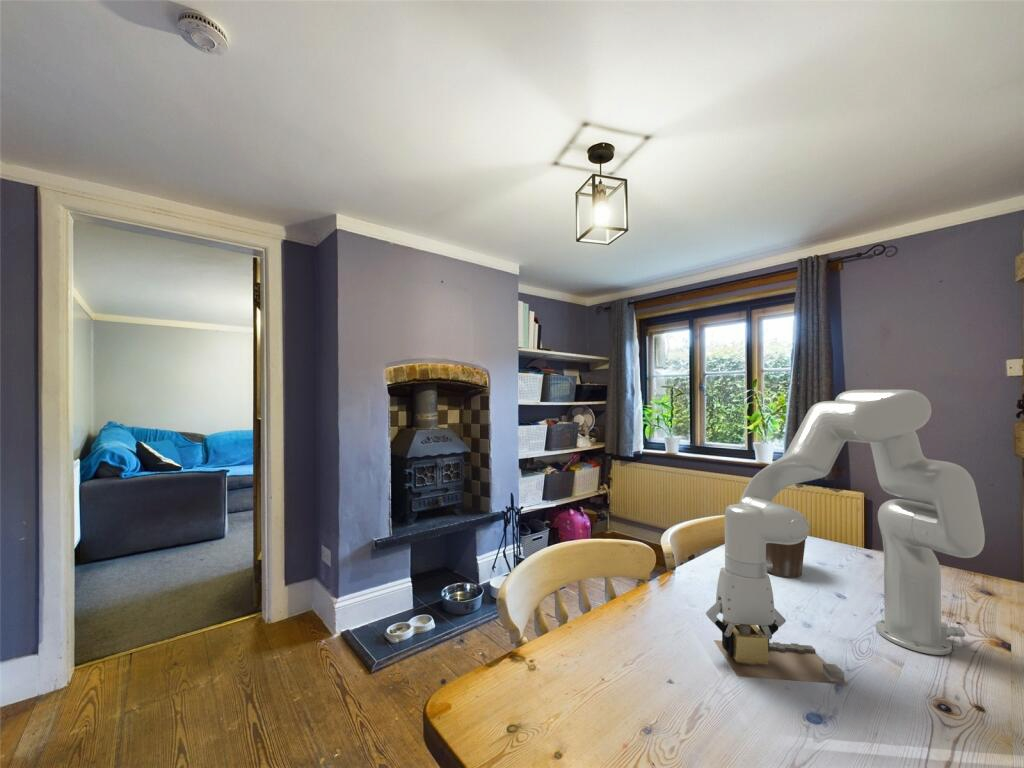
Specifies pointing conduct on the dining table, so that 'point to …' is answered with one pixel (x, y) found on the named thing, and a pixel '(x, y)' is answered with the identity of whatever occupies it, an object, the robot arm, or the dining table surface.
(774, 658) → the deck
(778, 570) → the plant pot
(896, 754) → the dining table surface
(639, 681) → the dining table surface
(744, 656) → the end link
